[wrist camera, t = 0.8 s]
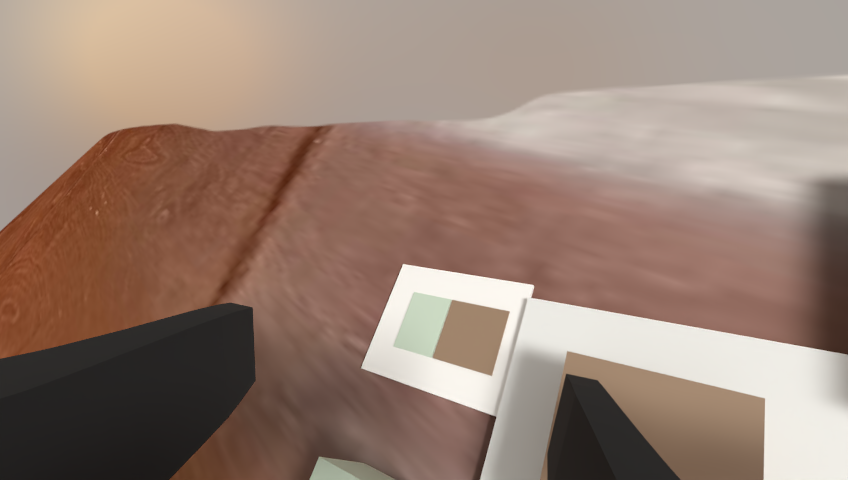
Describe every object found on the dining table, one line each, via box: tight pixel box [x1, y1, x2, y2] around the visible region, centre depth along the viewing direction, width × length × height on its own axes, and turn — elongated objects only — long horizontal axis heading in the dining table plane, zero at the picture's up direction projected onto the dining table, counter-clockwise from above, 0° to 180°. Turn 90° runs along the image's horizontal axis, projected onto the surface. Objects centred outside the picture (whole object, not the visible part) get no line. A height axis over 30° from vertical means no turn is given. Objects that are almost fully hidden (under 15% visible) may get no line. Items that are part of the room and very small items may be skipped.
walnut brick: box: [540, 351, 765, 480], centre depth 16 cm, size 7×7×4 cm
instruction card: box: [361, 264, 534, 417], centre depth 26 cm, size 8×10×1 cm
